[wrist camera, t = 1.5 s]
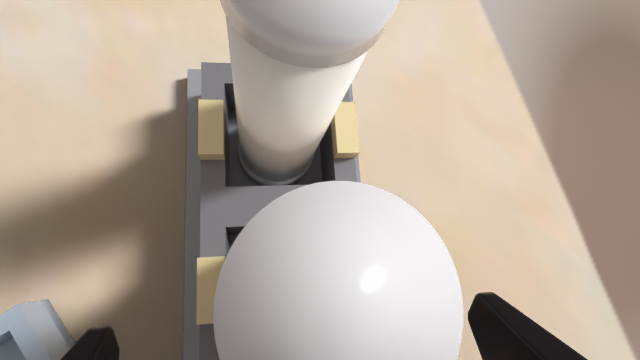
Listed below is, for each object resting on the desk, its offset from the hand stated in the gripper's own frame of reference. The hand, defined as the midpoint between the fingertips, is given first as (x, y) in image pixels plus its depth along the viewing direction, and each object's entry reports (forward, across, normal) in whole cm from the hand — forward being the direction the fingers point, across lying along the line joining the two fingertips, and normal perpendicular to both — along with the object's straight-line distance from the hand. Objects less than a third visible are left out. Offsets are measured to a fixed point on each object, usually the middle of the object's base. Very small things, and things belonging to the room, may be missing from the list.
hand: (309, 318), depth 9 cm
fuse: (+11, 0, +2) cm, 11 cm away
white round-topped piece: (+7, 0, +6) cm, 9 cm away
